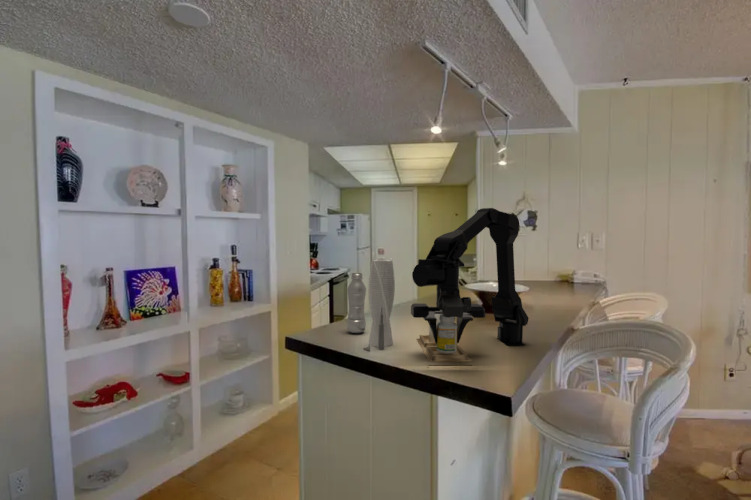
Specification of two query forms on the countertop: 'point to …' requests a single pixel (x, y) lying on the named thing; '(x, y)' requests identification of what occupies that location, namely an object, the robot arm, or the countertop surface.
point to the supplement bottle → (446, 335)
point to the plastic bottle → (356, 304)
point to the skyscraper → (381, 302)
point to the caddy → (434, 355)
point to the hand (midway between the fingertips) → (446, 342)
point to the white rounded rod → (437, 316)
